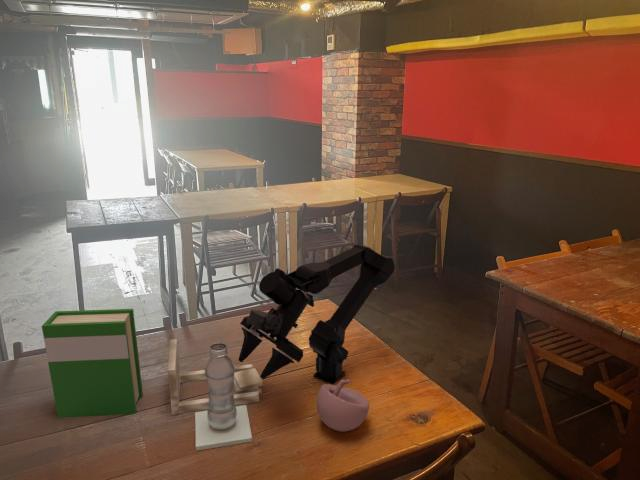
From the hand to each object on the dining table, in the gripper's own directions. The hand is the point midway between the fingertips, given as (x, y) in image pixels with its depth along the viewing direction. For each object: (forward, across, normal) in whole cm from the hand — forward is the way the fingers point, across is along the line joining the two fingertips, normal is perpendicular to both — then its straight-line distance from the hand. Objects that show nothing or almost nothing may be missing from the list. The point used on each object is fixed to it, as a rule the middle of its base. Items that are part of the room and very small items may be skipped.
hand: (250, 369), depth 114 cm
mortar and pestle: (-1, +17, +18) cm, 25 cm away
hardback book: (+27, -26, -10) cm, 39 cm away
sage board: (+14, 0, +3) cm, 14 cm away
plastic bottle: (+14, 0, +2) cm, 14 cm away
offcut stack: (+5, -10, +12) cm, 17 cm away
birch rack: (+10, -14, +7) cm, 18 cm away
